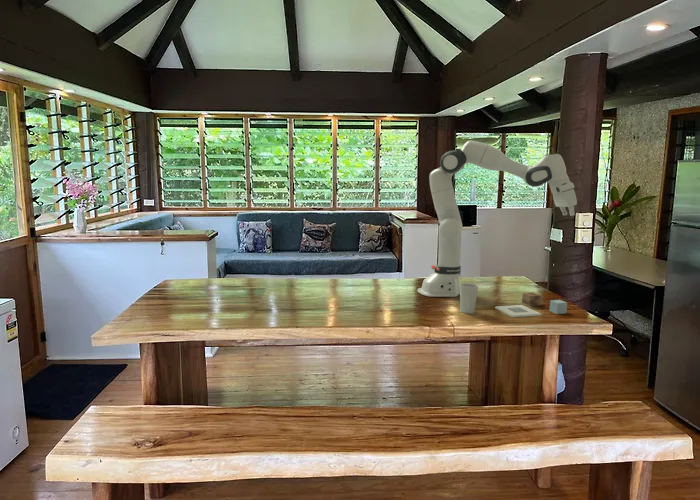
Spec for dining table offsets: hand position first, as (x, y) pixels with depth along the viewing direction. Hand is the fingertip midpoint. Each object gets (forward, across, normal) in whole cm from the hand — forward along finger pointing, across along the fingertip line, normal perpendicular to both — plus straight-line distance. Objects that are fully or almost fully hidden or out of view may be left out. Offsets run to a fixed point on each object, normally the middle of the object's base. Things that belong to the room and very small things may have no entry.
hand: (569, 215), depth 223 cm
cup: (+26, +18, -59) cm, 67 cm away
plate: (+33, +15, -38) cm, 52 cm away
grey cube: (+39, +12, -20) cm, 46 cm away
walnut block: (+35, 0, -28) cm, 45 cm away
